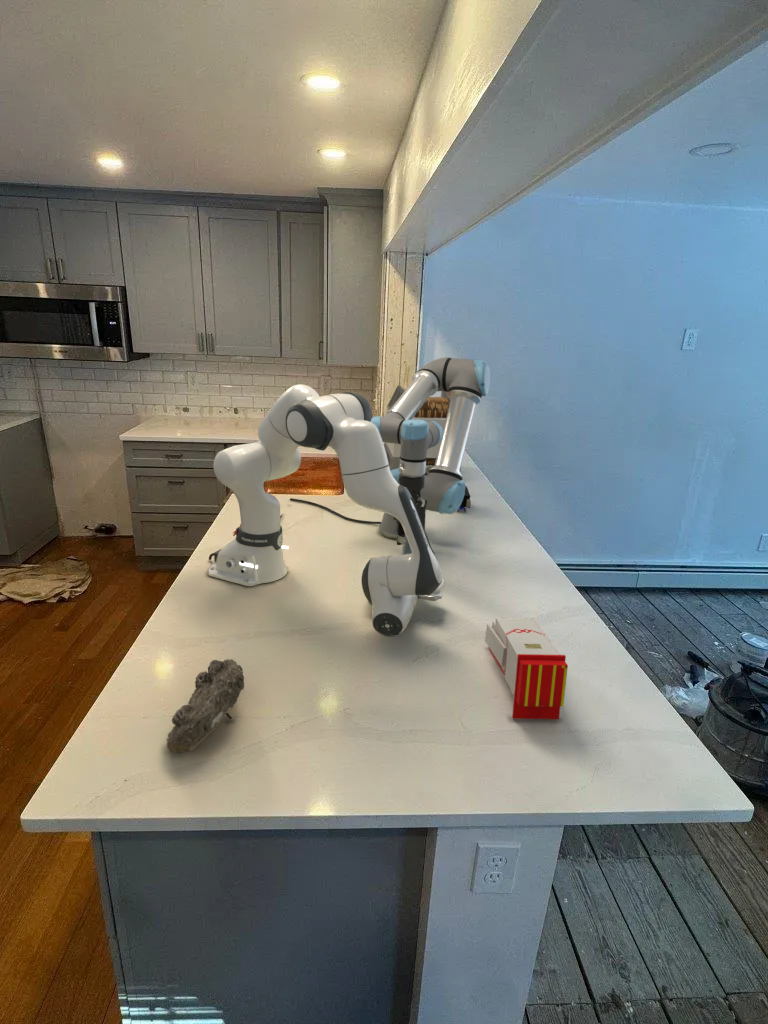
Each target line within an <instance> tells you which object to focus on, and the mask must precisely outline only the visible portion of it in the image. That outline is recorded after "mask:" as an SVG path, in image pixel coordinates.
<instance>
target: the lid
mask: <svg viewBox="0 0 768 1024" xmlns="http://www.w3.org/2000/svg"><path fill="white" fill-rule="evenodd" d="M405 536H406V534H405V532H404V531H401V532H399V533H398V535H397V540H396V542H397V541H398V542H399V543H402V544H403V542H404V537H405Z"/></svg>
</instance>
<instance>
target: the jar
mask: <svg viewBox="0 0 768 1024" xmlns="http://www.w3.org/2000/svg"><path fill="white" fill-rule="evenodd" d="M401 550H402V551H401V555H404V554H411V553H412V550H411V548H410V545H409V542H408V540H407V537H406V536H405V537H404V542H403V545H402V549H401Z"/></svg>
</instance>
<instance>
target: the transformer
mask: <svg viewBox="0 0 768 1024" xmlns="http://www.w3.org/2000/svg"><path fill="white" fill-rule="evenodd" d="M405 390H406V389H404V388H403V387H402V385H399V384H398V385H397V386H396V388H395V390H394V392H393V394H392V395H391V398H390V400H389V402H388V404H387V405H386V413H387V412H388V411H389V410H390V409H391V407H392V406H393V405H394V404H395V402H396V401H397V400H398V399H399V398H400V396H401V395H402V394H403V393H404V392H405ZM440 393H441V394H440V396H429V397H428V399H427V400H426V401H425V403H424V404H423V405H422V407H421V408H420V409H419V411H418V412H417V413H416V414H415V416H414V417H413V418H412V419H416V420H423V421H426V422H427V421H434V422H437V423H438V424H439V425H440V426H441V427H442V430H443V429H444V425H445V421H446V417H447V413H448V409H449V404H450V398H449V397H448V392H445V391H440ZM386 413H385V414H386ZM440 442H441V441H440ZM440 442H439V443H438V444H437V445H436V446H434V447H431V448H429V449H427V454H426V467H433V466H435V462H436V458H437V454H438V450H439V446H440ZM383 444H384V447H385V450H386V454H387V458H388V463H389V468H390V471H391V470H393V469H397V468H400V451H401V444H394V443H387V442H383ZM461 472H462V465H461V466H460V473H461ZM461 474H462V473H461Z"/></svg>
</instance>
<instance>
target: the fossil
mask: <svg viewBox="0 0 768 1024" xmlns="http://www.w3.org/2000/svg"><path fill="white" fill-rule="evenodd" d="M243 670H244V669H243V667H242V665H240V664H237V662H236V661H235V660H234V659H232V658H231V659H227V658H226V659H224V660H223V661H222V660H217V659H212V660H211V661H210V663H209V665H208V666H207V671H201V672H199V673H198V674H197V675H196V676H195V680H194V684H195V685H194V687H195V689H194V690H193V693H192V694H191V697H190V698H189V700H188V704H184V705H182V706H181V707H180V709H177V710H176V711H175V713H174V715H173V716H172V718H171V723H172V724H173V727H172V730H171V731H170V732H168V734H167V738H166V741H167V742H166V745H167V749H168V750H169V751H173V752H174V753H176V754H178V753H182V752H188V751H189V752H192V751H193V750H195V748H196V747H197V746H199V744H200V743H201V742H203V741H204V740H205V739H206V738H207V737H208V736H209V735H210V734H211V733H212V732H214V730H215V729H217V727H218V726H219V724H220V722H221V721H222V720H223V719H224V718H225V716H226V717H227V719H229V720H233V717H232V715H230V714H229V710H230V709H231V708H234V706H235V704H236V703H237V702H238V699H239V697H240V695H241V693H242V691H243V690H245V689H244V688H245V675H244V671H243Z"/></svg>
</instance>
